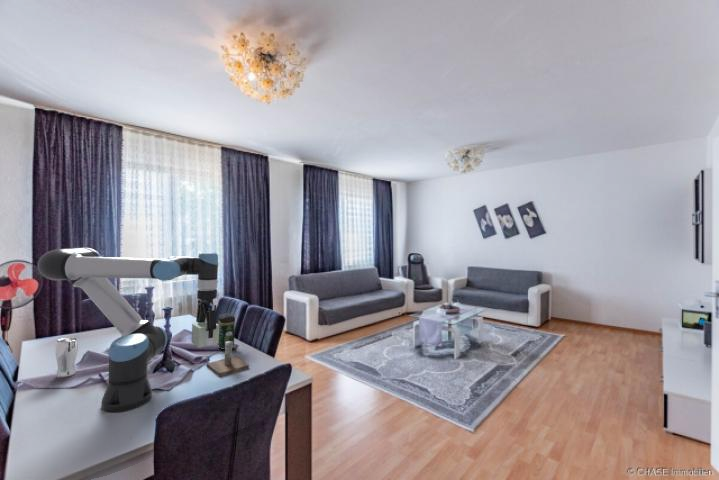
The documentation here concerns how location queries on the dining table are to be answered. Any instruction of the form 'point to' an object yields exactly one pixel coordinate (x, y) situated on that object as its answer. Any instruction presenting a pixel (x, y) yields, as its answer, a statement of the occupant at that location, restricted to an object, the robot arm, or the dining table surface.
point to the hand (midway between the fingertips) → (205, 342)
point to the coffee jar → (226, 329)
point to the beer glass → (66, 356)
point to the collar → (203, 334)
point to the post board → (229, 368)
